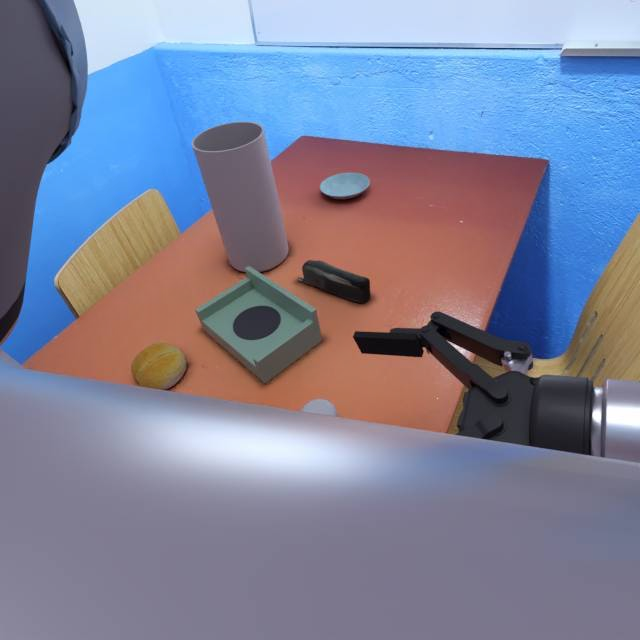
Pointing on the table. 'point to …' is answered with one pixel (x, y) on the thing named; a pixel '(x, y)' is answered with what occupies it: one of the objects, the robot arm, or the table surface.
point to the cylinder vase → (242, 194)
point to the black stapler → (336, 281)
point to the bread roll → (159, 366)
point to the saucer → (345, 185)
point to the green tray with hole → (261, 324)
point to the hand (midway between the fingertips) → (335, 398)
